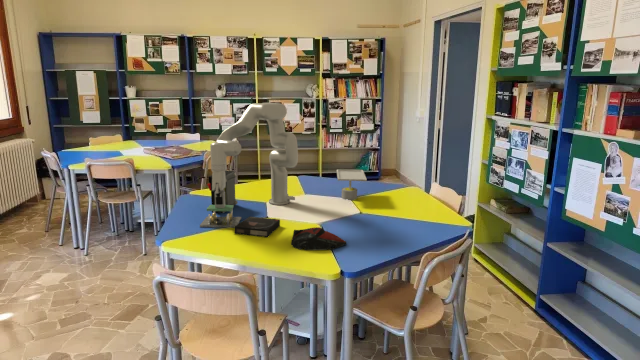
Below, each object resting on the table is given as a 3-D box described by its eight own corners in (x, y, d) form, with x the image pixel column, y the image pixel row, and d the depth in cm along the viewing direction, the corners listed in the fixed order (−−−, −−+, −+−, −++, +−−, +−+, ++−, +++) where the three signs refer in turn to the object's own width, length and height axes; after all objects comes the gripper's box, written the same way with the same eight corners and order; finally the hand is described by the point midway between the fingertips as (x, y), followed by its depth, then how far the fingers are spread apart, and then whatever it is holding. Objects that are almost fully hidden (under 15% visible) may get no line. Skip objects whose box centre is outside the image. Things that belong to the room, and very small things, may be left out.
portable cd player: (234, 235, 204) (234, 227, 204) (249, 223, 221) (249, 216, 220) (266, 238, 200) (266, 230, 199) (279, 227, 216) (279, 219, 215)
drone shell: (285, 245, 192) (285, 228, 190) (312, 234, 207) (312, 218, 205) (323, 258, 179) (323, 239, 177) (349, 244, 194) (350, 227, 192)
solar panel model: (365, 204, 257) (366, 179, 254) (336, 203, 257) (337, 178, 254) (362, 192, 284) (362, 169, 281) (335, 191, 284) (336, 169, 281)
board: (233, 207, 222) (233, 189, 220) (230, 211, 215) (230, 193, 213) (210, 206, 222) (209, 189, 220) (206, 210, 215) (205, 193, 213)
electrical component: (226, 213, 235) (224, 177, 230) (208, 212, 237) (207, 176, 232) (238, 204, 252) (237, 171, 247) (222, 203, 254) (220, 170, 249)
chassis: (241, 218, 227) (241, 207, 225) (236, 227, 213) (235, 216, 212) (207, 218, 227) (206, 207, 225) (199, 227, 213) (199, 215, 212)
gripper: (215, 164, 222) (216, 198, 226) (207, 170, 205) (208, 207, 209) (230, 164, 222) (231, 199, 226) (222, 170, 205) (224, 208, 209)
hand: (220, 202), depth 217 cm, fingers closed on board, 3 cm apart
